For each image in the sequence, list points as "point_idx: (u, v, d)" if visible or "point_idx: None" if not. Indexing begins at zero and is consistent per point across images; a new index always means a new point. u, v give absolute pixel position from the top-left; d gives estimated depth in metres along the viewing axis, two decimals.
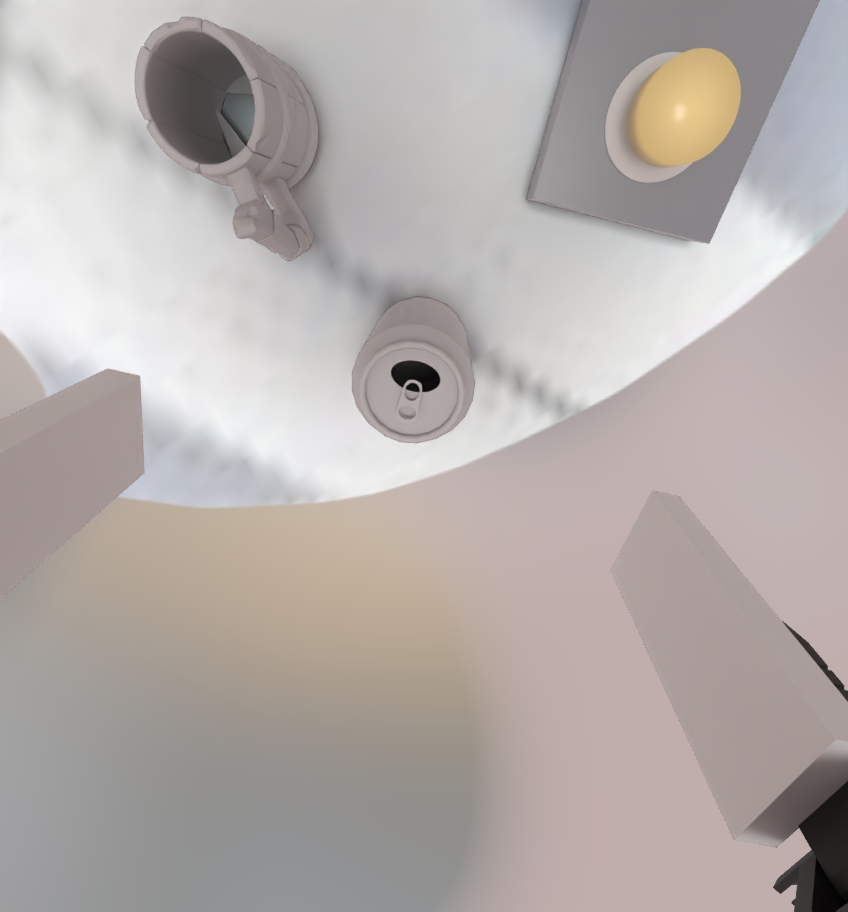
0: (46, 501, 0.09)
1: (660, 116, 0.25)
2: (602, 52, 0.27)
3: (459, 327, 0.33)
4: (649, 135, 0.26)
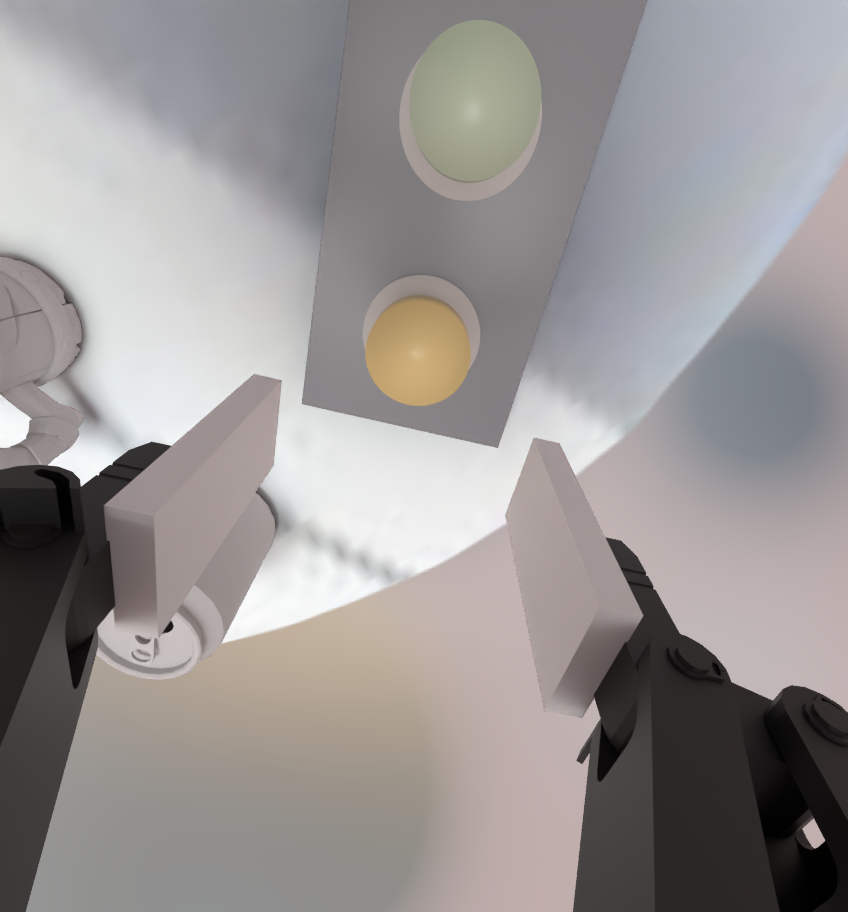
0: (232, 487, 0.11)
1: (388, 362, 0.23)
2: (346, 272, 0.25)
3: (237, 527, 0.31)
4: (380, 379, 0.24)
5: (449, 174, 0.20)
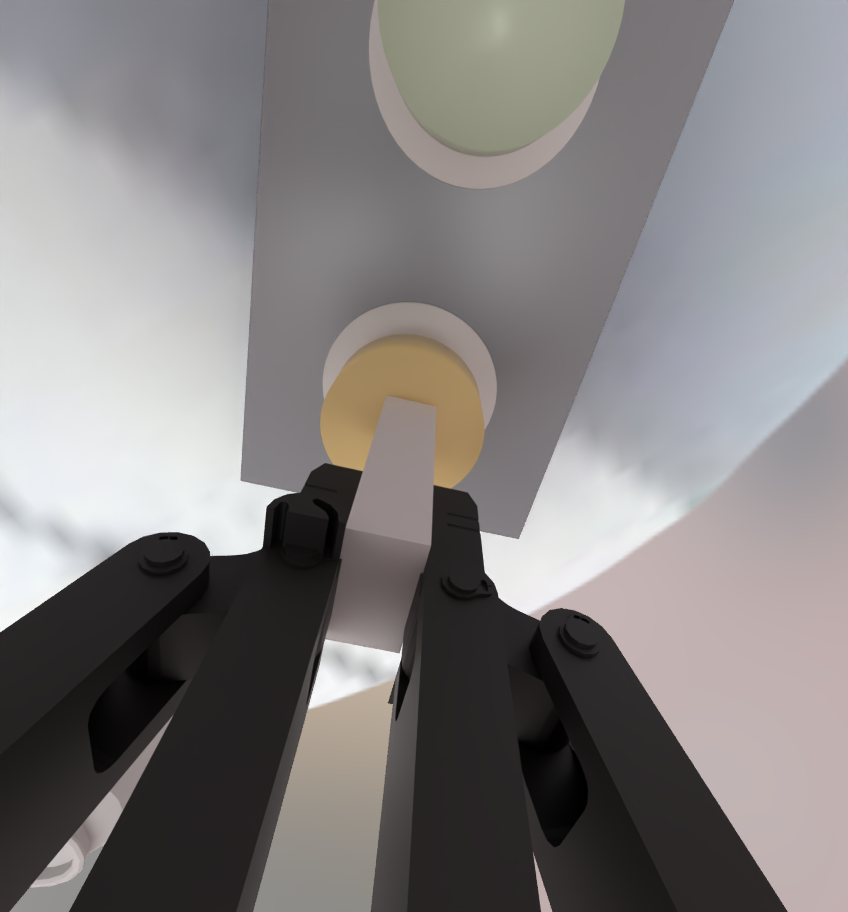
0: None
1: (356, 440, 0.15)
2: (294, 298, 0.17)
3: None
4: (344, 464, 0.15)
5: (452, 138, 0.11)
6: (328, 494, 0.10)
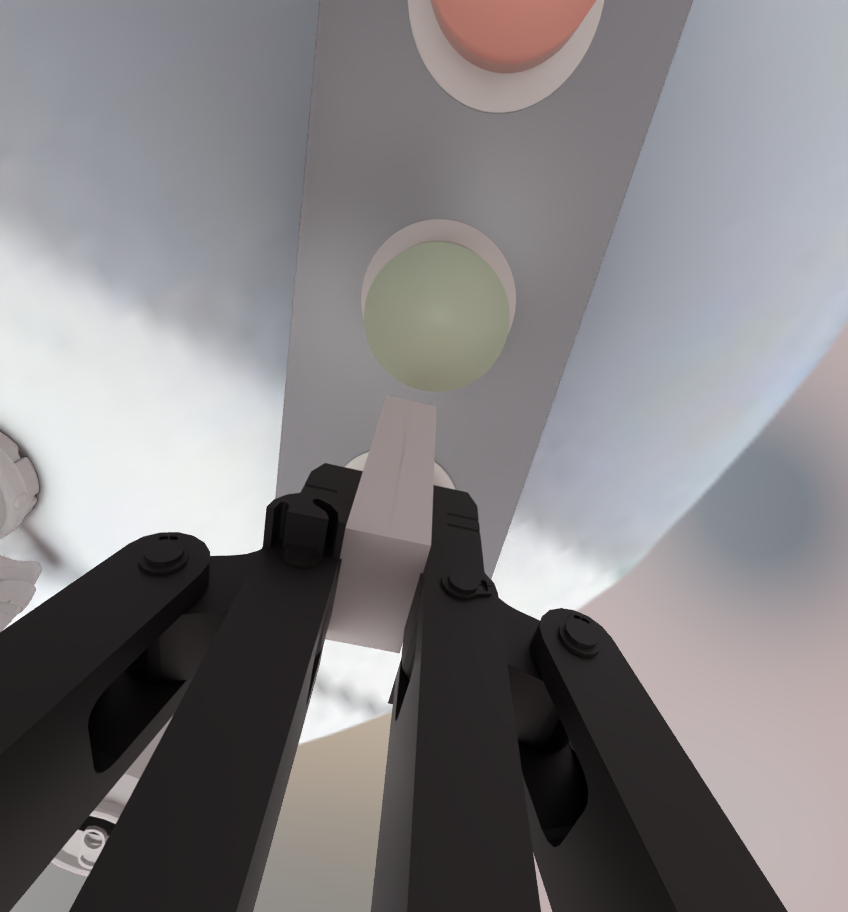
0: None
1: None
2: (311, 444, 0.23)
3: None
4: None
5: (411, 385, 0.18)
6: (328, 494, 0.10)
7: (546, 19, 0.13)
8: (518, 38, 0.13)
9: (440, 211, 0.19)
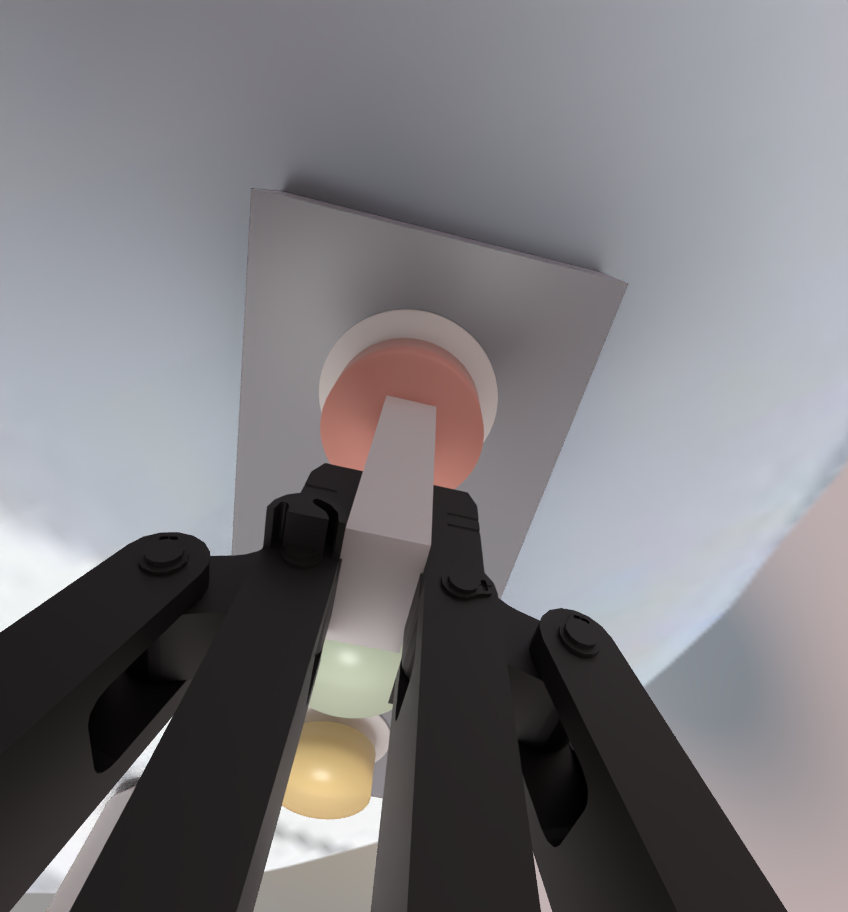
0: None
1: (292, 794, 0.24)
2: None
3: None
4: (286, 803, 0.24)
5: (329, 713, 0.20)
6: (328, 494, 0.10)
7: None
8: None
9: None
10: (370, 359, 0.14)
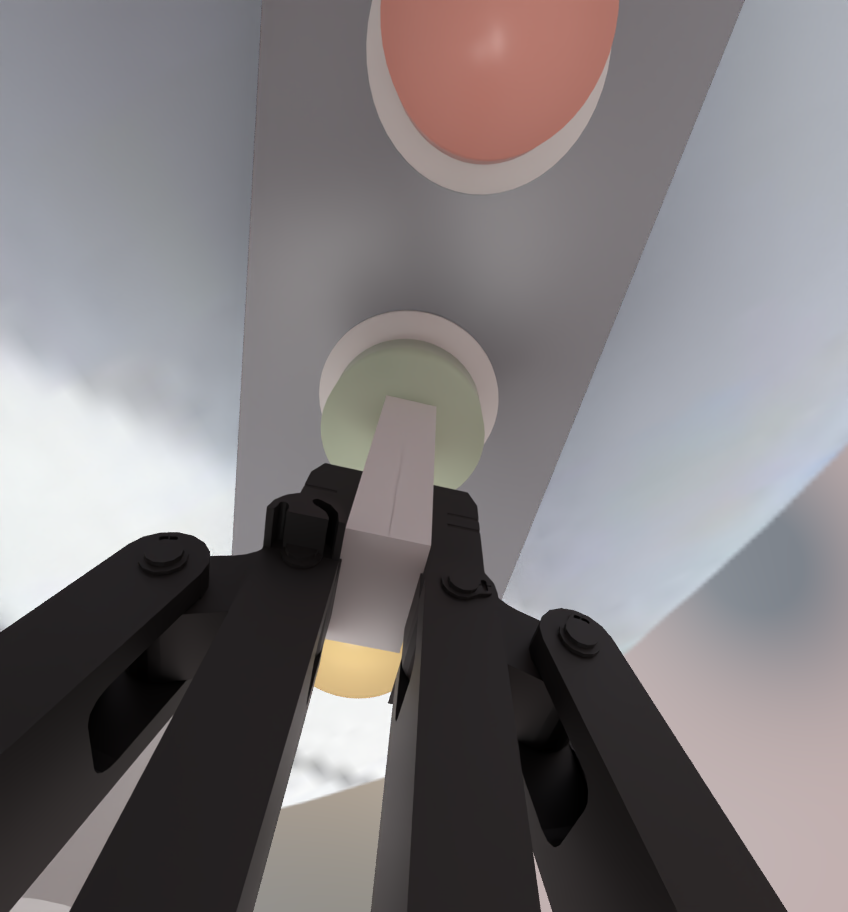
0: None
1: None
2: None
3: None
4: None
5: None
6: (328, 494, 0.10)
7: (526, 122, 0.11)
8: (493, 141, 0.11)
9: (410, 302, 0.16)
10: None
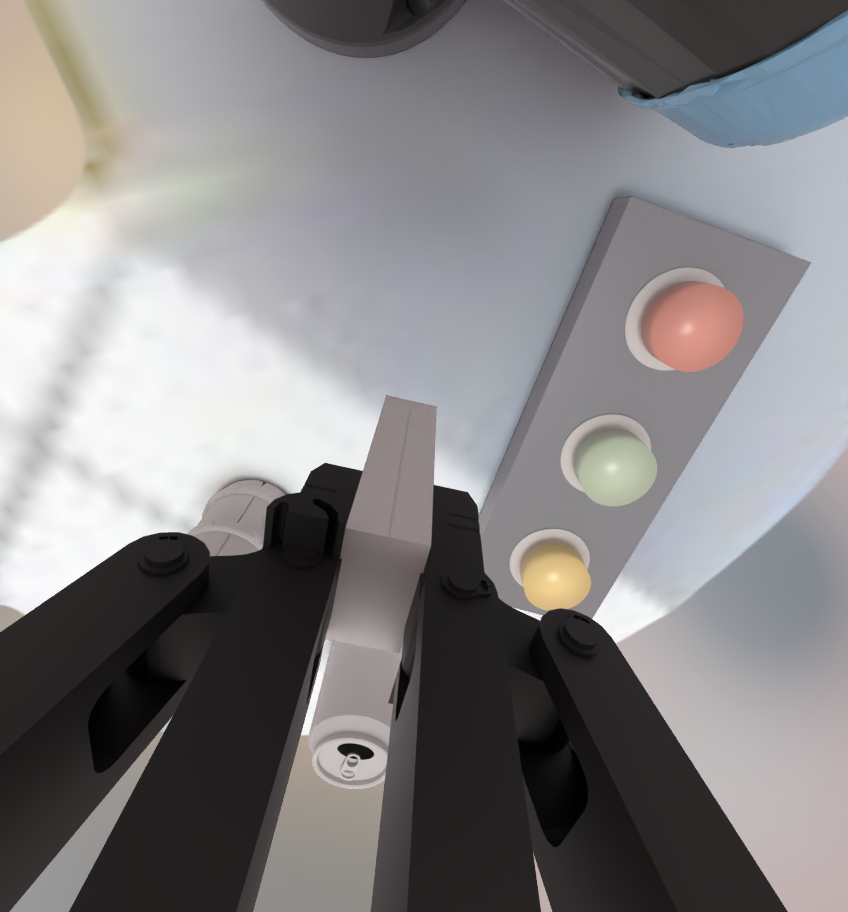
0: None
1: (538, 587, 0.37)
2: (507, 523, 0.38)
3: (397, 670, 0.43)
4: (530, 595, 0.37)
5: (597, 502, 0.33)
6: (328, 494, 0.10)
7: (701, 361, 0.29)
8: (687, 366, 0.29)
9: (618, 410, 0.34)
10: (696, 286, 0.27)
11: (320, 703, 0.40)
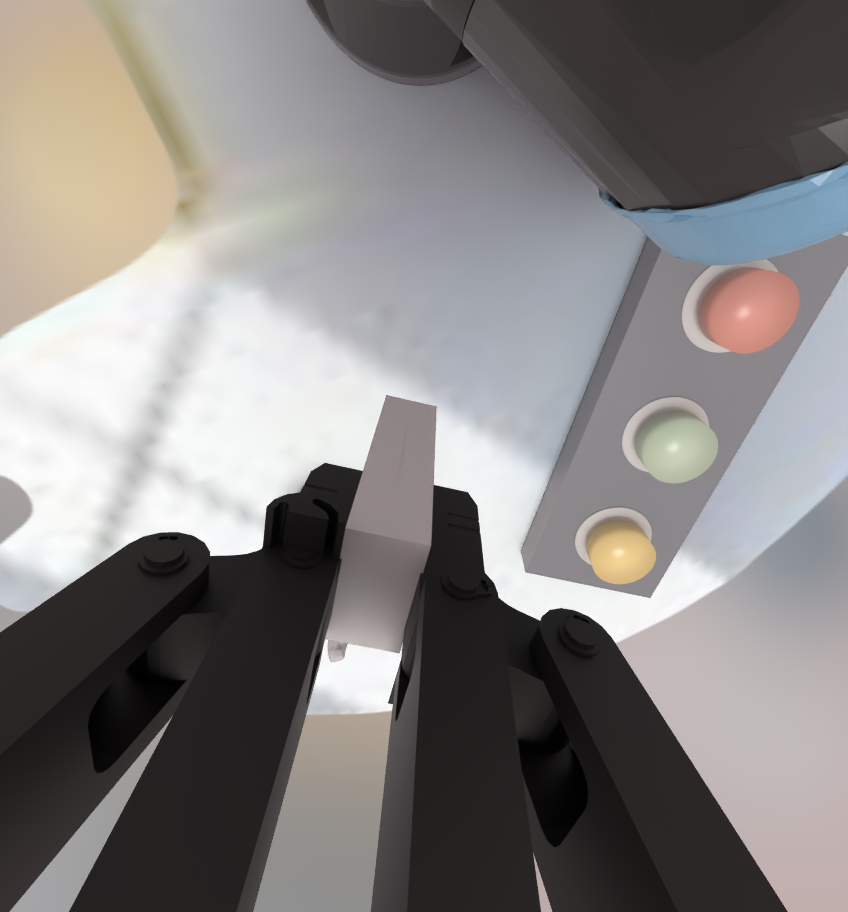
0: None
1: (605, 563, 0.39)
2: (572, 504, 0.40)
3: None
4: (598, 571, 0.40)
5: (661, 480, 0.36)
6: (328, 494, 0.10)
7: (759, 342, 0.31)
8: (745, 348, 0.31)
9: (676, 393, 0.36)
10: (753, 273, 0.29)
11: None
